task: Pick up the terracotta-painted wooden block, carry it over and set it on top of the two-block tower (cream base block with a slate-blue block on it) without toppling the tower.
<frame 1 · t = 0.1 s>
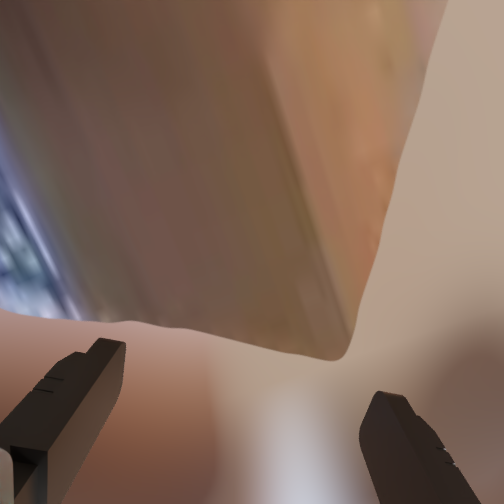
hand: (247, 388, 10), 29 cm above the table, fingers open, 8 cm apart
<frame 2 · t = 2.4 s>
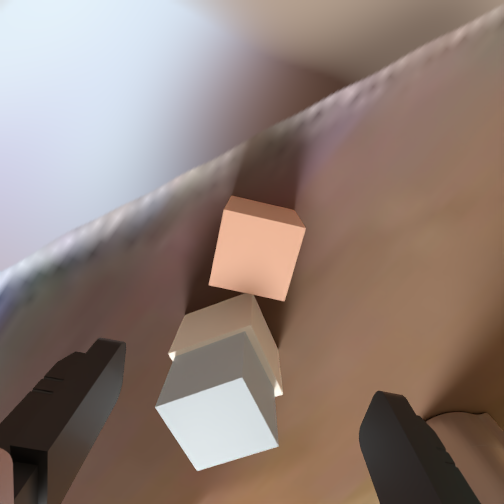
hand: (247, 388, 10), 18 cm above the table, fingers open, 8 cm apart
terracotta block: (255, 233, 27), on the table
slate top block: (225, 373, 25), point 6 cm above the table, touching cream base block
cream base block: (232, 332, 30), on the table, touching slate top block
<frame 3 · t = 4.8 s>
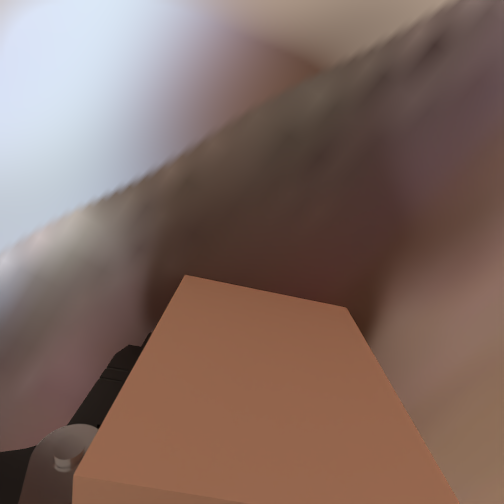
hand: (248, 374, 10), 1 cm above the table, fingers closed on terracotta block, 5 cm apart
terracotta block: (249, 359, 11), on the table, touching gripper
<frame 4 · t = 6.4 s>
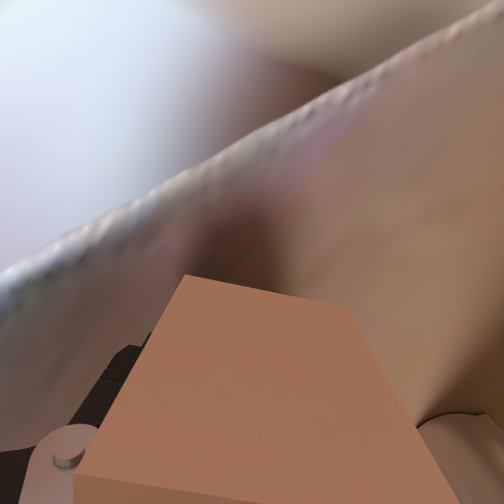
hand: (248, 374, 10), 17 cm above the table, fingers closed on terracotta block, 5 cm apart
terracotta block: (249, 358, 11), point 16 cm above the table, touching gripper
when the fingers open (13 cm above the table, at t = 8.5 s): terracotta block drops 1 cm, resting on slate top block.
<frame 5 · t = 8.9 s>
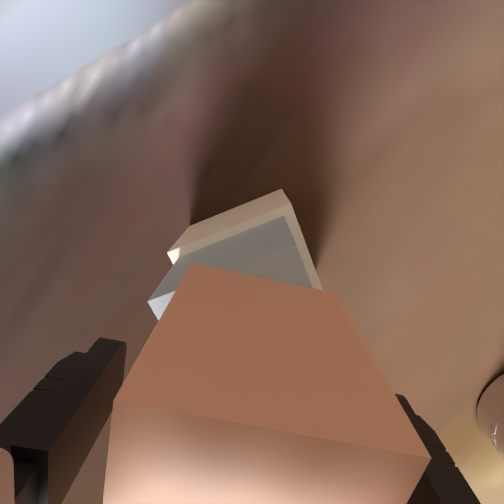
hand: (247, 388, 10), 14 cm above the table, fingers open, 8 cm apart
terracotta block: (249, 340, 12), point 11 cm above the table, touching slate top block
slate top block: (251, 285, 17), point 6 cm above the table, touching cream base block, terracotta block
cream base block: (253, 251, 23), on the table, touching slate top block
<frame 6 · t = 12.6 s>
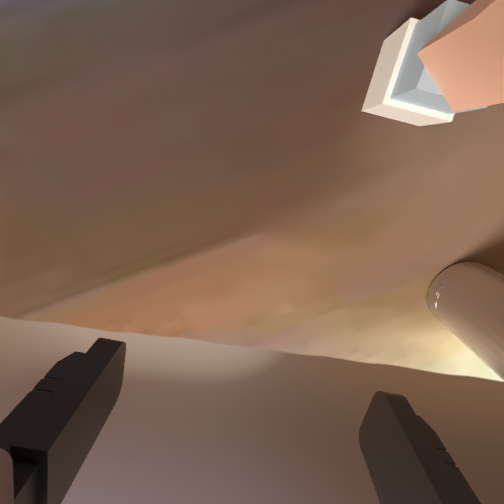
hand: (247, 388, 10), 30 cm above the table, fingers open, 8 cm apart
terracotta block: (467, 56, 23), point 11 cm above the table, touching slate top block
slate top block: (432, 71, 28), point 6 cm above the table, touching cream base block, terracotta block
cream base block: (402, 85, 34), on the table, touching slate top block
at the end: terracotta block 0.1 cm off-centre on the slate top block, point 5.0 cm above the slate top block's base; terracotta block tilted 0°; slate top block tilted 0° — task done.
